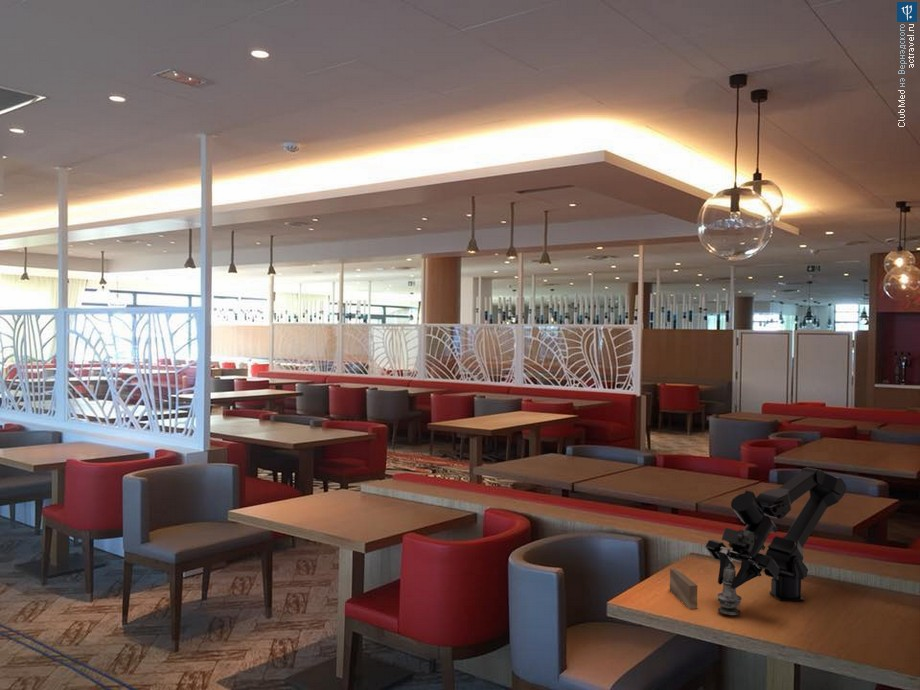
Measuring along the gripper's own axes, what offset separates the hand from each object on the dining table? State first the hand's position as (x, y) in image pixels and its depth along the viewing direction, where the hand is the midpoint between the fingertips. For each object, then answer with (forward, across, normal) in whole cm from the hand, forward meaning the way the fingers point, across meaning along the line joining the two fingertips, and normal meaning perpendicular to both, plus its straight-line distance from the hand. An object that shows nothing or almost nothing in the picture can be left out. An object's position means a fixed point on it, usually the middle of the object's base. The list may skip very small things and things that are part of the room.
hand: (725, 585), depth 194 cm
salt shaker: (+4, 0, +6) cm, 7 cm away
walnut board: (+5, -13, +5) cm, 15 cm away
